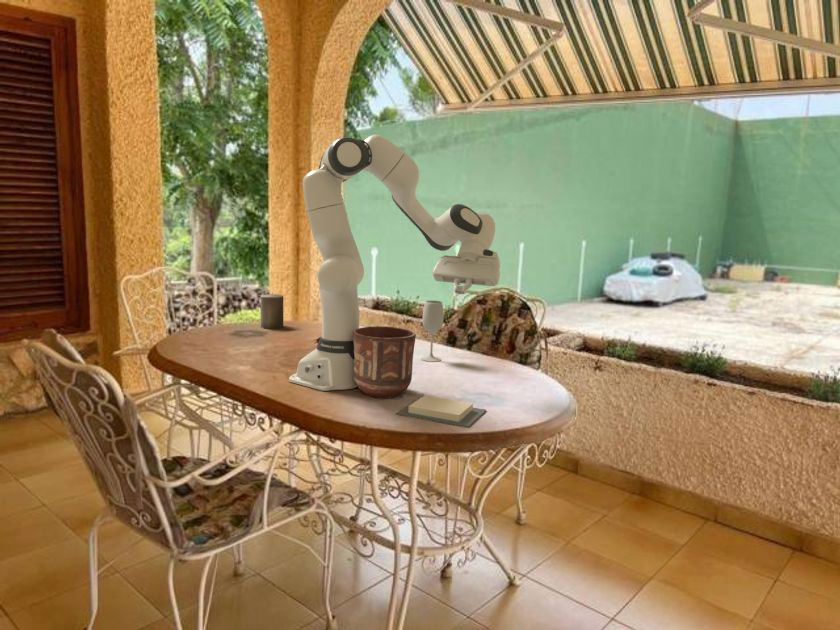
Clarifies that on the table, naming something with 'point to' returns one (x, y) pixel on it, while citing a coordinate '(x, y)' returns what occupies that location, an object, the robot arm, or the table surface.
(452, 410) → the tile
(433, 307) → the wineglass
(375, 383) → the pottery
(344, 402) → the table surface
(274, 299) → the pillar candle
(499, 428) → the table surface
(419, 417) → the mat
